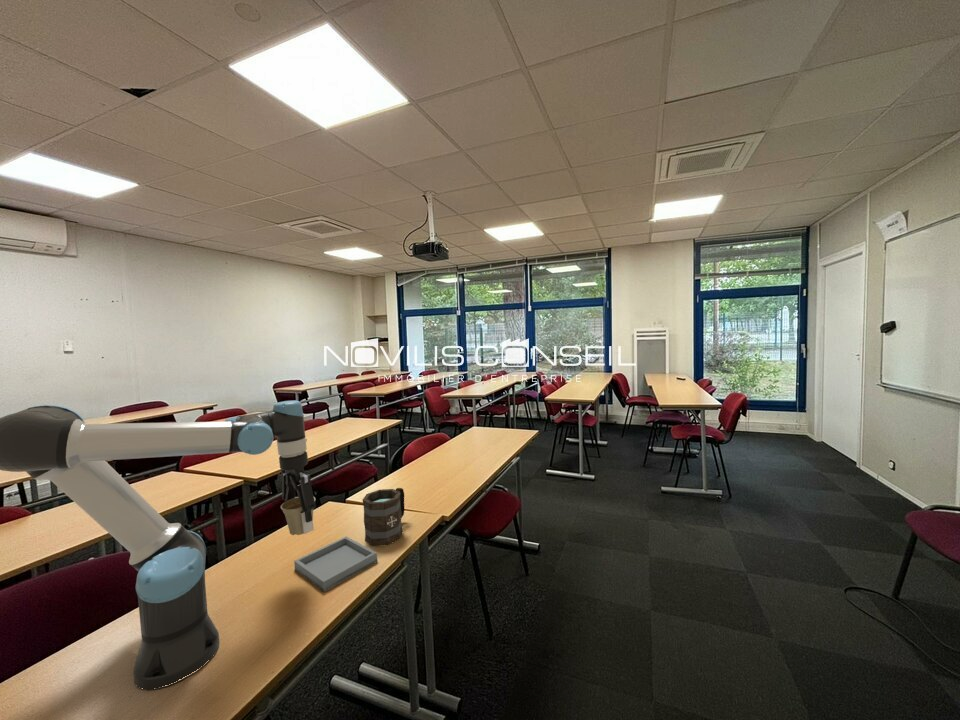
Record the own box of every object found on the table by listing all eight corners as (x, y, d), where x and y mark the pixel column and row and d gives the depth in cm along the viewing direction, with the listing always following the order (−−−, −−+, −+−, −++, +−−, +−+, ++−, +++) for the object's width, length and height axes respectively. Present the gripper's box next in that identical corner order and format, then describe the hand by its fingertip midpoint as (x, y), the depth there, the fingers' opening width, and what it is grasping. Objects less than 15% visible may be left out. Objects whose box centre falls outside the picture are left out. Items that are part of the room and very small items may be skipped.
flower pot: (276, 535, 111) (273, 506, 110) (304, 520, 119) (301, 493, 119) (297, 541, 107) (294, 511, 106) (325, 525, 115) (322, 498, 114)
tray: (324, 592, 107) (323, 581, 107) (294, 570, 119) (294, 560, 119) (377, 561, 121) (376, 552, 121) (346, 544, 133) (346, 536, 133)
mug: (388, 549, 128) (385, 506, 128) (356, 542, 134) (354, 501, 133) (419, 522, 146) (416, 484, 146) (390, 518, 152) (388, 481, 151)
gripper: (323, 455, 107) (331, 531, 109) (289, 445, 121) (297, 513, 123) (297, 463, 102) (305, 543, 103) (264, 451, 115) (272, 523, 117)
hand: (301, 527), depth 113 cm, fingers closed on flower pot, 9 cm apart
